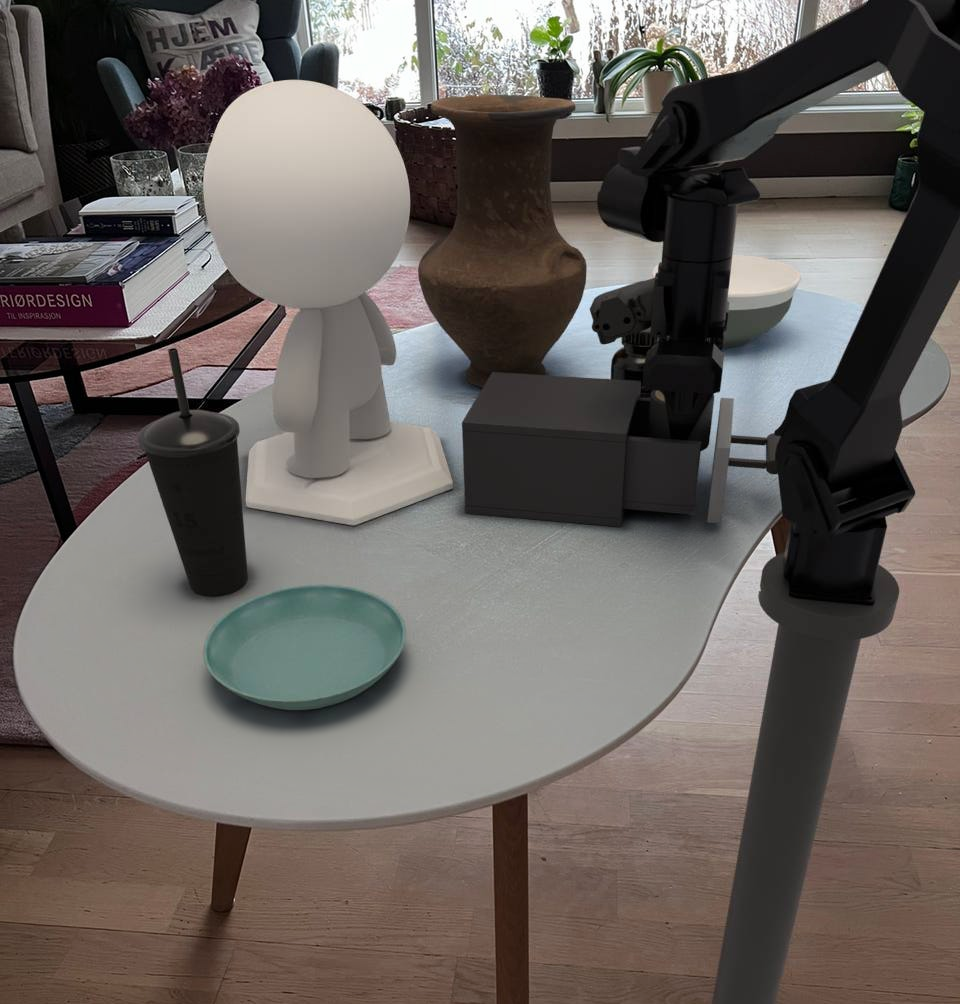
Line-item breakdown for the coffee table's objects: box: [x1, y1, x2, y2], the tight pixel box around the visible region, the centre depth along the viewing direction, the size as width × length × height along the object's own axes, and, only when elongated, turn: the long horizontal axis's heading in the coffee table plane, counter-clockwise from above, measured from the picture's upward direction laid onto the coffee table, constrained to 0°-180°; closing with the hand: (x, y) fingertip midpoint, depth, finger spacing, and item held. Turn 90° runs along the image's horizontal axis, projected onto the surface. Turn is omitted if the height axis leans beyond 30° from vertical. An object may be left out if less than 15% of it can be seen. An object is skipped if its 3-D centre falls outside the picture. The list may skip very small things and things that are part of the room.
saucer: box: [202, 584, 407, 711], centre depth 75 cm, size 15×15×3 cm
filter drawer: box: [623, 397, 781, 524], centre depth 94 cm, size 18×11×7 cm, turn 77°
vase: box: [417, 93, 588, 388], centre depth 116 cm, size 19×19×30 cm
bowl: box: [651, 253, 802, 348], centre depth 132 cm, size 19×19×8 cm
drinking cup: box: [137, 347, 249, 597], centre depth 81 cm, size 8×8×20 cm
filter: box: [648, 390, 715, 452], centre depth 92 cm, size 6×6×5 cm
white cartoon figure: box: [202, 79, 454, 526], centre depth 93 cm, size 20×23×35 cm
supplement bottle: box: [610, 327, 657, 398], centre depth 105 cm, size 7×7×12 cm
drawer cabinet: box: [461, 372, 641, 528], centre depth 97 cm, size 15×13×9 cm
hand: (680, 431), depth 93 cm, fingers closed on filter, 6 cm apart
